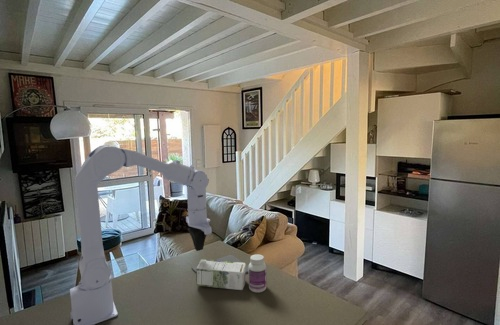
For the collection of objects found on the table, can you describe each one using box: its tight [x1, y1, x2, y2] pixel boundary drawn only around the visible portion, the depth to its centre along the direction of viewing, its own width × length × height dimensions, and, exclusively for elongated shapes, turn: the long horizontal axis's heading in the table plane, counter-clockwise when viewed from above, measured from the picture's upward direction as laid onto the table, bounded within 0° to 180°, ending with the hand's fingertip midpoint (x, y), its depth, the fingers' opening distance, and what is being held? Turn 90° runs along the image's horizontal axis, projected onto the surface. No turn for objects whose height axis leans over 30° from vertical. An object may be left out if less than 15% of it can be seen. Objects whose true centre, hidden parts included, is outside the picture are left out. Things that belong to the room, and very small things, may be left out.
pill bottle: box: [248, 254, 267, 293], centre depth 80 cm, size 5×5×10 cm
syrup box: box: [195, 258, 247, 291], centre depth 83 cm, size 6×6×14 cm
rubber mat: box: [191, 254, 249, 274], centre depth 92 cm, size 16×14×1 cm
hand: (199, 249), depth 86 cm, fingers closed
